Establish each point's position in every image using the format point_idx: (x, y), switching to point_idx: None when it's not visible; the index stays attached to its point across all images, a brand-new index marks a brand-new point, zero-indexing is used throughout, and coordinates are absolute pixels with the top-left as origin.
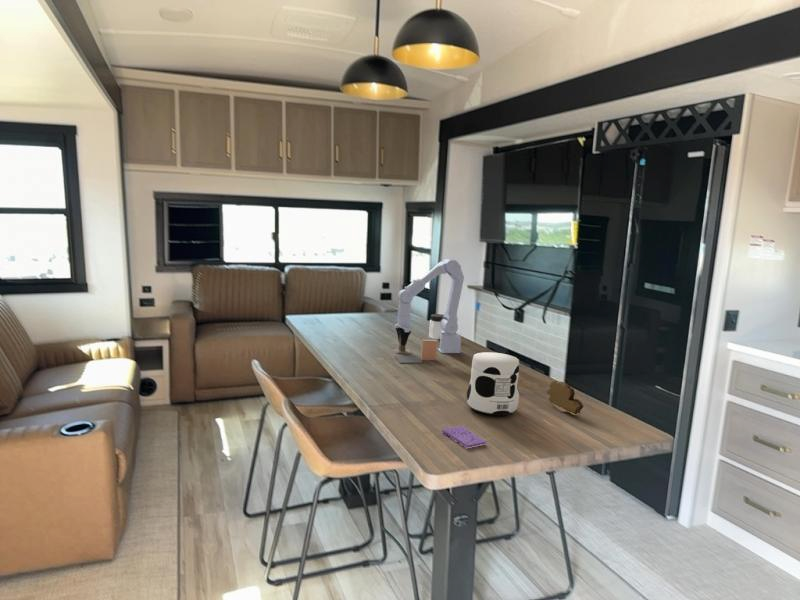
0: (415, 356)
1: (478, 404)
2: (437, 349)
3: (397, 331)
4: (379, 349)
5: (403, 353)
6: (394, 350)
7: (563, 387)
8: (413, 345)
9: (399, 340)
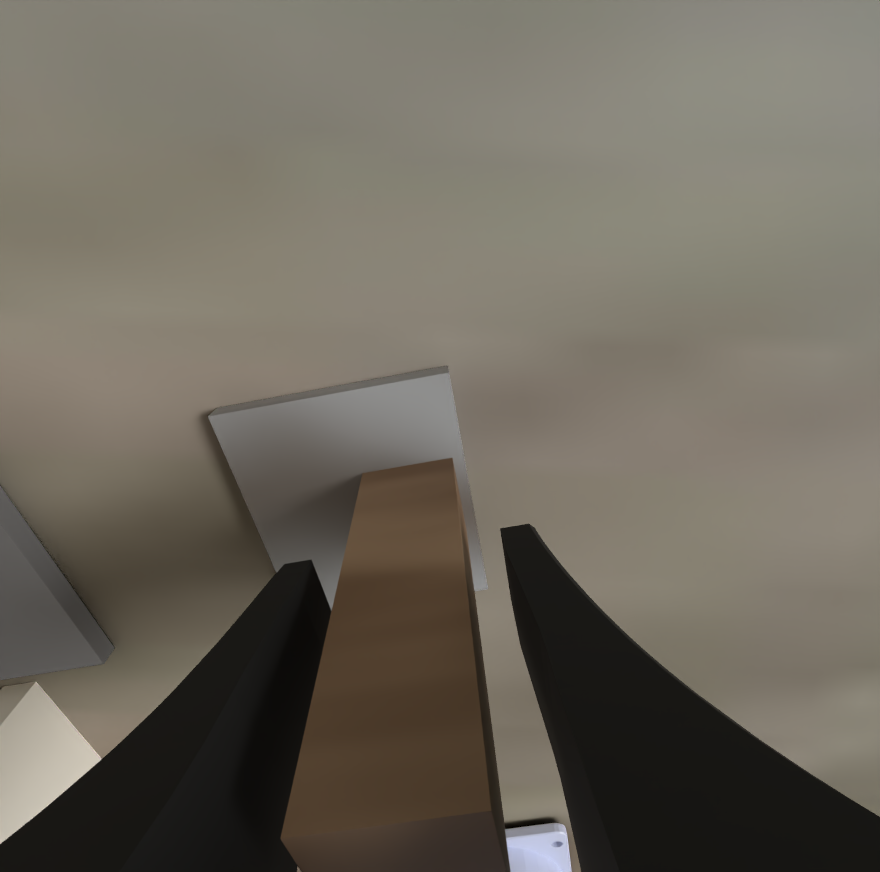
0: (68, 654)
1: None
2: (531, 827)
3: (590, 794)
4: (480, 16)
5: (258, 510)
6: (400, 378)
7: None
8: (764, 643)
9: (448, 579)
